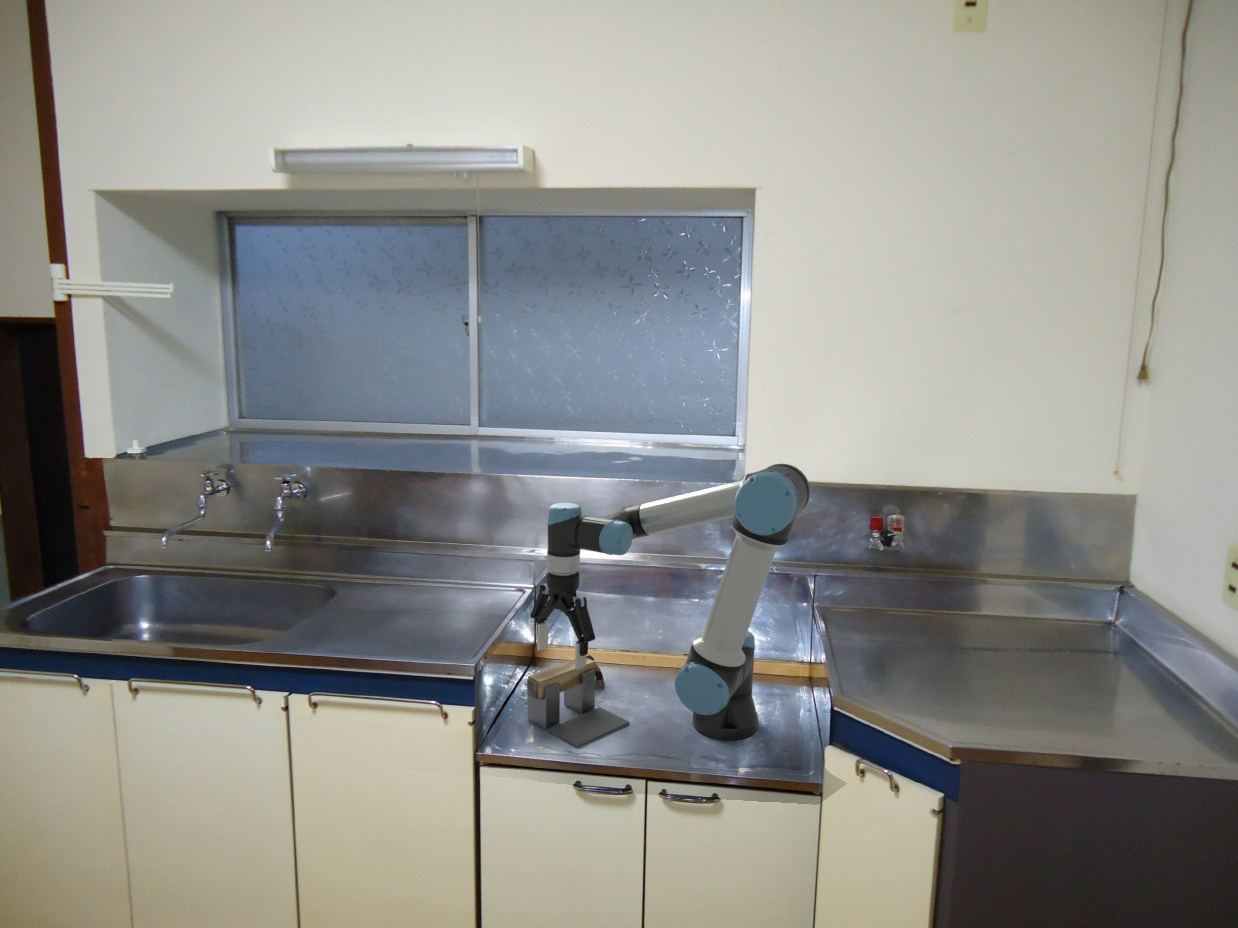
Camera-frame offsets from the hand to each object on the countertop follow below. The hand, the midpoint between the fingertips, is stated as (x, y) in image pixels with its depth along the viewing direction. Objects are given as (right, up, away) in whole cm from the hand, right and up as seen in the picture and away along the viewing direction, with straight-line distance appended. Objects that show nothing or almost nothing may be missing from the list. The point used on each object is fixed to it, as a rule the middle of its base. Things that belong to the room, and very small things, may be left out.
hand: (561, 658), depth 189 cm
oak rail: (0, -7, +1) cm, 7 cm away
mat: (+7, -15, -4) cm, 17 cm away
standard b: (-4, -14, -2) cm, 15 cm away
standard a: (+4, -13, +6) cm, 15 cm away
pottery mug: (+5, -11, +19) cm, 22 cm away
